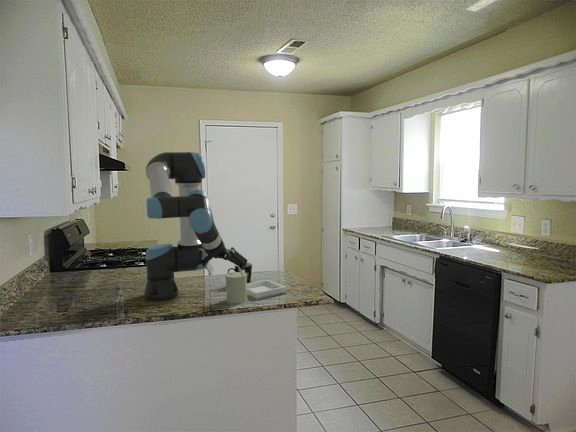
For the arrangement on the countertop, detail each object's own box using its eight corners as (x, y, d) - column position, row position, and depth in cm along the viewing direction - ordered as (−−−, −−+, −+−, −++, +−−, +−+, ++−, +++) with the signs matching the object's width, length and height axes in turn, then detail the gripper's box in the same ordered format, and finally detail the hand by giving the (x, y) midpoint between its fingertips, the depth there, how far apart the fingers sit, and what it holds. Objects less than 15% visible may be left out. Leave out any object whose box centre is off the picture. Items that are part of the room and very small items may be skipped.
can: (236, 295, 184) (235, 269, 183) (251, 299, 179) (251, 272, 178) (221, 301, 177) (220, 274, 175) (237, 305, 171) (236, 277, 170)
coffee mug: (254, 282, 207) (253, 262, 205) (250, 287, 198) (250, 266, 197) (231, 281, 208) (231, 262, 207) (227, 286, 199) (226, 266, 198)
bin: (256, 300, 178) (256, 293, 178) (238, 291, 191) (238, 285, 190) (286, 293, 187) (286, 286, 187) (267, 285, 200) (266, 279, 200)
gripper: (177, 249, 150) (196, 279, 166) (242, 251, 144) (255, 281, 161) (183, 233, 154) (201, 263, 170) (246, 234, 149) (258, 265, 165)
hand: (227, 272), depth 166 cm, fingers open, 13 cm apart
